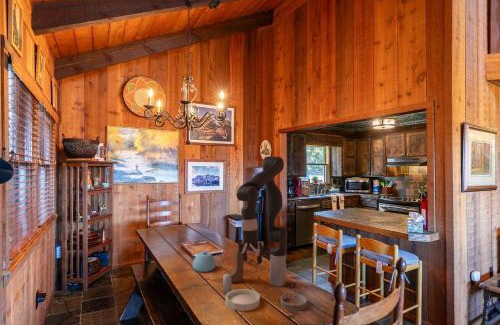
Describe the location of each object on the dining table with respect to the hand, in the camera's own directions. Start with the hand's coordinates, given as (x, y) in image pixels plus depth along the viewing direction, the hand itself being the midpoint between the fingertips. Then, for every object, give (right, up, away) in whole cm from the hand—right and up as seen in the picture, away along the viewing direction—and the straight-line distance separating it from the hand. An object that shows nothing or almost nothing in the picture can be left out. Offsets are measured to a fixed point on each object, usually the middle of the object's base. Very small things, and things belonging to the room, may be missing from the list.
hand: (252, 262), depth 136 cm
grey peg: (-14, -23, +20) cm, 33 cm away
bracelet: (+21, -24, +8) cm, 33 cm away
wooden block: (-10, -24, +35) cm, 43 cm away
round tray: (-5, -23, +8) cm, 25 cm away
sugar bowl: (-32, -23, +54) cm, 67 cm away
